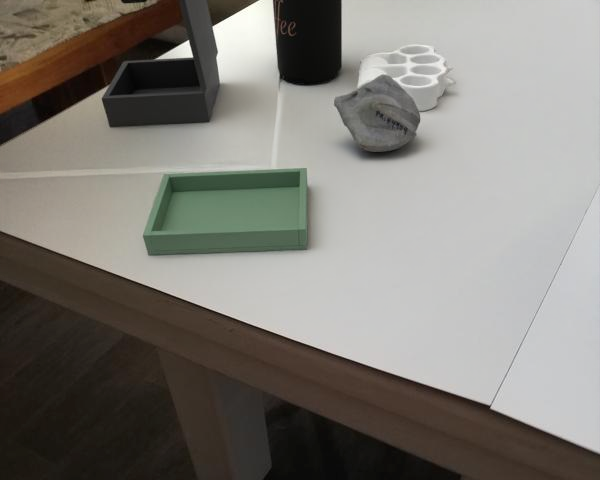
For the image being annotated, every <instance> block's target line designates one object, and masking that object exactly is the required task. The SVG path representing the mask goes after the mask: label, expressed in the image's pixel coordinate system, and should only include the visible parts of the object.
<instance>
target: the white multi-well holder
mask: <svg viewBox="0 0 600 480" xmlns="http://www.w3.org/2000/svg"><path fill="white" fill-rule="evenodd" d="M359 63H360V65H359V71H358V81H357V85H356V91H357V90H358V89H359V88H360V87H362V86H364V85H365V84H367V83H369V82H371V81H372V80H374V79H375V78H377V77H378V76H380V75H388V76H390V77H391V78H392V79H393V80H395V81H396V82H397V83H398V84H399V85H400V86H401V87H402V88H403V89H404V90H405V91H406V92H407V94H409V95H410V96H411V97H412V98H413V100H414V102H415V104H416V106H417V108H418V110H419V112H424V111H425V112H426V111H429V110H431V109H434V108H435V107H436V106H437V105H438V99H439V98H440V97H442V96H443V94H444V93H445V90H446V88H448V87H450V86H453V85H454V84H456V82H455V81H454V80H452V79H450V78H449V77H448V73H449V72H450V71H452V70H453V69H454V68H453V67H451V66H449V65H447V59H445V57H444V56H443V55H440V54H437V53H436V48H435V47H434V46H432V45H427V44H415V43H414V44H408V45H403V46H401V47H399V48H398V49H397V50H394V51H390V52H389V51H388V52H386V51H385V52H383V51H381V52H375V53H370V54H367V55H366V56H364V57H363V58H362V59H360V61H359Z"/></svg>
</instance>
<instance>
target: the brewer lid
mask: <svg viewBox="0 0 600 480" xmlns="http://www.w3.org/2000/svg"><path fill="white" fill-rule="evenodd" d="M178 2H179V6H180V11H181V15H182V20H183V22H184V26H185V27H184V28H185V31H186V35H187V38H188V42H189V46H190V51H191V55H192V57H193V59H194V63H195V67H196V71H197V75H198V79H199V83H200V87H201V90H205V89H207V86H208V83H209V80H210V77H211V73H212V70H213V67H214V64H215V61H216V59H217V57H218V54H219V51H218V45H217V41H216V37H215V33H214V27H213V23H212V18H211V14H210V10H209V5H208V0H178Z"/></svg>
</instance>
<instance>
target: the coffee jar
mask: <svg viewBox="0 0 600 480" xmlns="http://www.w3.org/2000/svg"><path fill="white" fill-rule="evenodd" d="M342 1H343V0H272V6H273V7H272V9H273V19H274V20H273V22H274V35H275V36H274V37H275V48H276V50H275V51H276V63H277V70H278V72H279V74H280V75H281V77H282V78H283V79H284V80H285V81H286V82H289V83H291V84H296V85H303V86H304V85H306V86H307V85H318V84H323V83H326V82H329V81H332V80H333V79H335V78H336V77H337V76H338V74H339V73H340V70H341V69H342V66H343V64H342V63H343V59H342V58H343V55H342V54H343V51H342V50H343V49H342V47H343V43H342V41H343V39H342V38H343V37H342V36H343V25H342V24H343V22H342V21H343V20H342V18H343V4H342V3H343V2H342Z"/></svg>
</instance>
